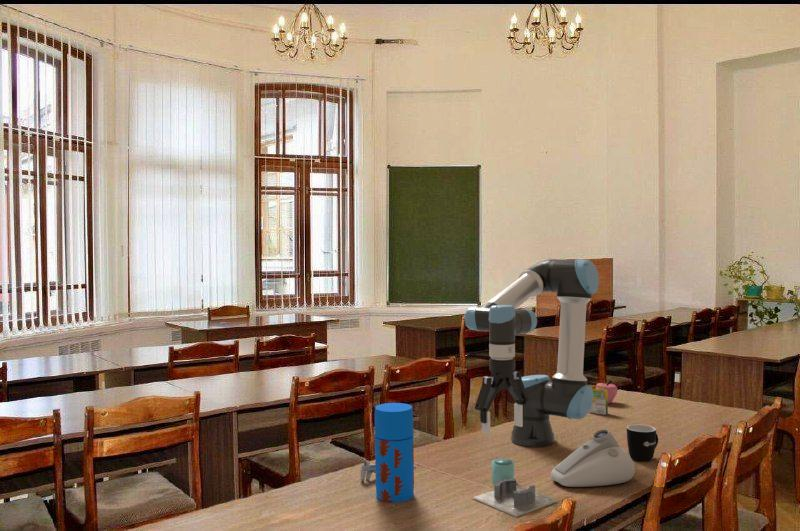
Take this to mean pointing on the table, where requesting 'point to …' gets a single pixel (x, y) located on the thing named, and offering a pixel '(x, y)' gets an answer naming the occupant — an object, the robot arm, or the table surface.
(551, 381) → the robot arm
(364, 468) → the caliper
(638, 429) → the mug
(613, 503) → the table surface
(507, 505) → the cradle fixture plate
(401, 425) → the thermos
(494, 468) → the cap
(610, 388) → the apple
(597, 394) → the crayon box
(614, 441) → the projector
